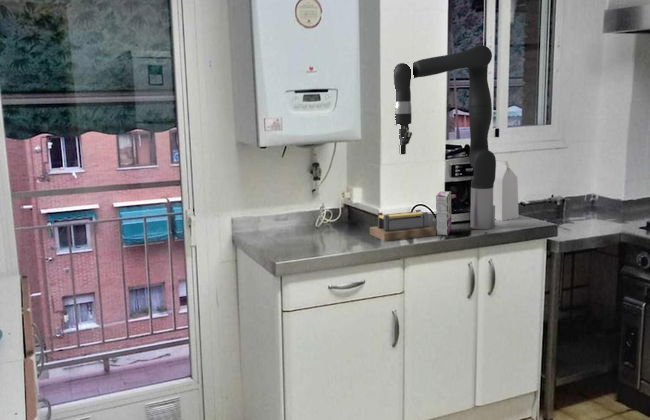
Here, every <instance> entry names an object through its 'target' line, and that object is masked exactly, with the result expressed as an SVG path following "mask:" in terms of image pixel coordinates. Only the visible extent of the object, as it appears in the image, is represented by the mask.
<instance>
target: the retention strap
mask: <svg viewBox="0 0 650 420" xmlns="http://www.w3.org/2000/svg"><path fill="white" fill-rule="evenodd" d="M423 212H424V211H422V210H421V211H419V212H416V211H413V212H404V213H391V214H388V215H389V219H390V218H401V217H412V216H421V217H423ZM384 215H385V214H383V215H379V218H382V219H384Z"/></svg>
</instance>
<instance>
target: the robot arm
mask: <svg viewBox="0 0 650 420" xmlns="http://www.w3.org/2000/svg"><path fill="white" fill-rule="evenodd" d="M492 59H493V53H492V51H491V49H490V48H489V47H488V46H486V45H483V44H477V45H475V46H473V47H471V48H468V49H465V50H464V51H461V52H456V53H453V54H452V53H451V54H445V55H439V56H434V57H427V58H424V59H419V60H416V61H413V62H414V63H413V75H414V78H413V79H417V78H424V77H431V76H435V75H441V74H443V73H447V72H450V71H451V72H452V71H454V70H459V69H460V70H461V69H467V70H468V77H469V79H468V80H469V82H468V83H469V84H468V85H469V86H468V118H469V120H468V121H469V134H470V138H469V139H470V143H469V144H470V145H469V154H468V155H469V157H468V159H469V164H470V166H471V167H472V168H473V177H472V180H471V181H470V220H469V221H470V223H469V224H470V228H471V229H474V230H475V229H476V230H490V229H493V228H495V227H496V225H495V224H496V220H495V205H493V186H494V181H495V174H496V161H497V160H496V159H497V158H496V155H495V154H494V153H493V152H492V151H491V150H489V141H488V140H489V131H490V127H491V123H492V118H493V111H492V109H493V108H492V107H493V105H492V96H491V91H490V88H489V83H488V81H489V79H488V70H489V67H488V66H489V64H490V63H491V62H492ZM394 68H395V69H394ZM394 68H393V72H394V74H393V86H394V85H395V89H396V106H395V107H396V108H395V110H396V111H395V115H396V116H395V118H396V119H395V120H396V124H395V125H397V124H400V125H401V129H399V134H400V135H399V139H400V145H401V154H400V155H406V154H407V152H406V151H407V145H408V144H409V143H410V142H411V141H410V140H411V138H412V136H413V132H411V131H410V127H409V125H410V124H412V102H411V101H412V98H411V96H412V93H411V91H412V90H411V81H412V79H411V69H410V67H409V66H408V65H407V64H405V63H404V62H401V63H398V64H396V66H395V67H394ZM403 137H404V138H403ZM400 145H399V146H400Z"/></svg>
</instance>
